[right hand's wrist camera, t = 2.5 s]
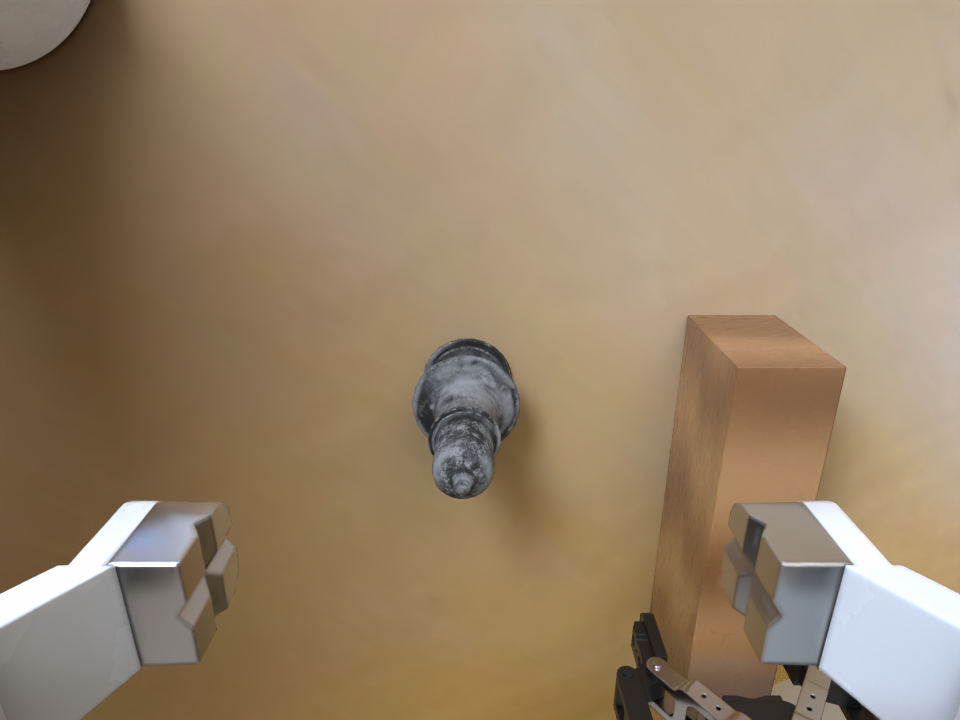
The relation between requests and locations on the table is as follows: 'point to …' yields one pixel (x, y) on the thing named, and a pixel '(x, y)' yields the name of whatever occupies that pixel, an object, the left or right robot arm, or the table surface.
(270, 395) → the table surface
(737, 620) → the bar
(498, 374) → the dark grey chess piece
